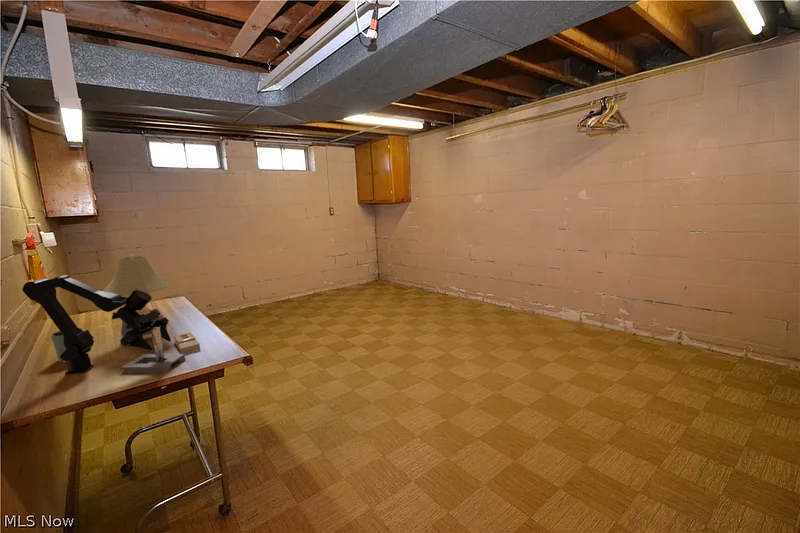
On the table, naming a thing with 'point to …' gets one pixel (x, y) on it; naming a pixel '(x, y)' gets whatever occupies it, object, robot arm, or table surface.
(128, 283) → the desk lamp
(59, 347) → the drinking glass
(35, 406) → the table surface
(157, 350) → the steel post
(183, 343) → the electrical outlet
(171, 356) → the keyhole plate
